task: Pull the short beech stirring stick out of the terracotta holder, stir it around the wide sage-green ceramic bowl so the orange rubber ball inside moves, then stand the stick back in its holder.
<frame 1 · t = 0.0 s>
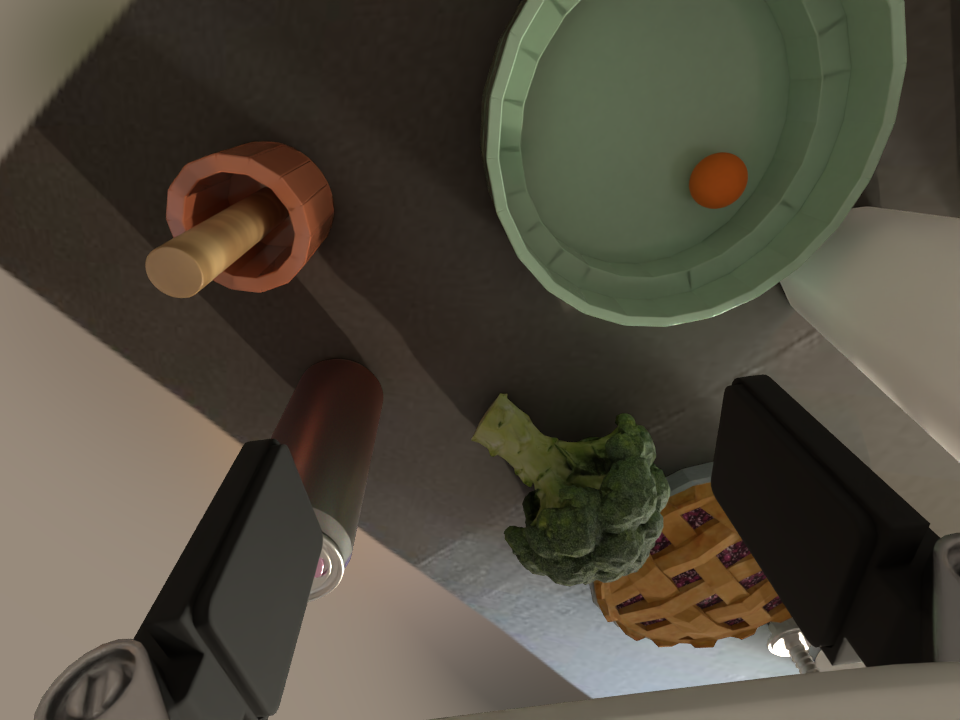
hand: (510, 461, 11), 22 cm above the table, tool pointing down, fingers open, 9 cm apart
vegetable: (549, 439, 39), on the table
cup: (829, 259, 33), on the table
screw: (779, 620, 53), on the table
ball: (717, 181, 28), point 2 cm above the table, touching bowl
beverage can: (343, 388, 36), on the table
pie: (697, 536, 46), on the table
bowl: (646, 130, 28), on the table
holder: (277, 201, 29), on the table
bottle: (862, 650, 57), on the table
stick: (274, 203, 28), resting on holder
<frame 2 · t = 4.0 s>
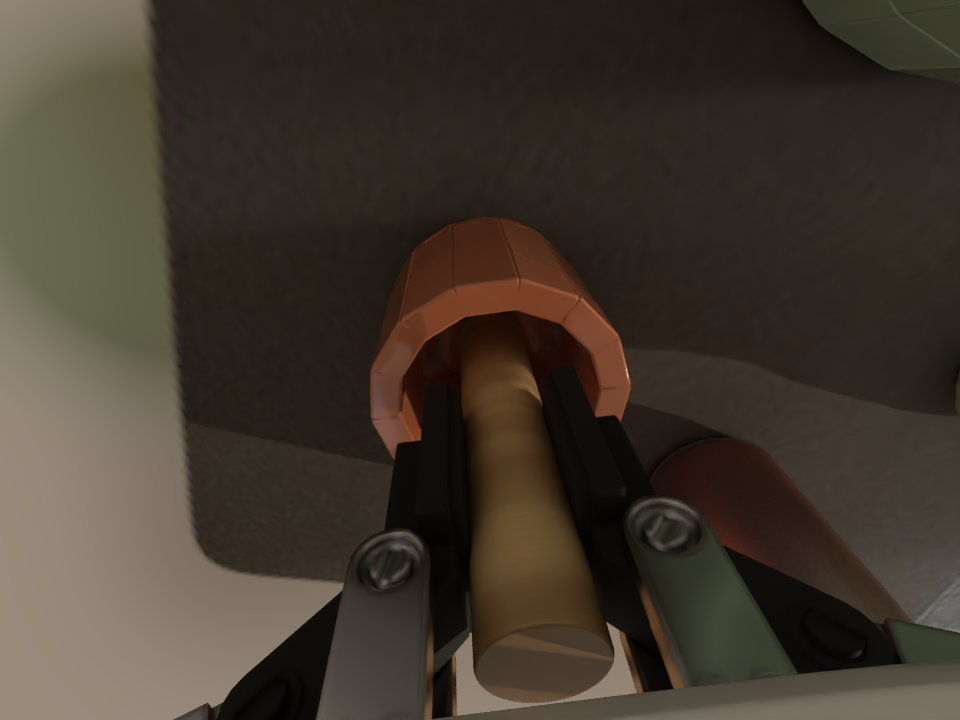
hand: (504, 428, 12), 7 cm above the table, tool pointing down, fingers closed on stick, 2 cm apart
beverage can: (701, 478, 23), on the table
holder: (485, 309, 18), on the table
stick: (486, 315, 17), point 1 cm above the table, touching gripper, holder
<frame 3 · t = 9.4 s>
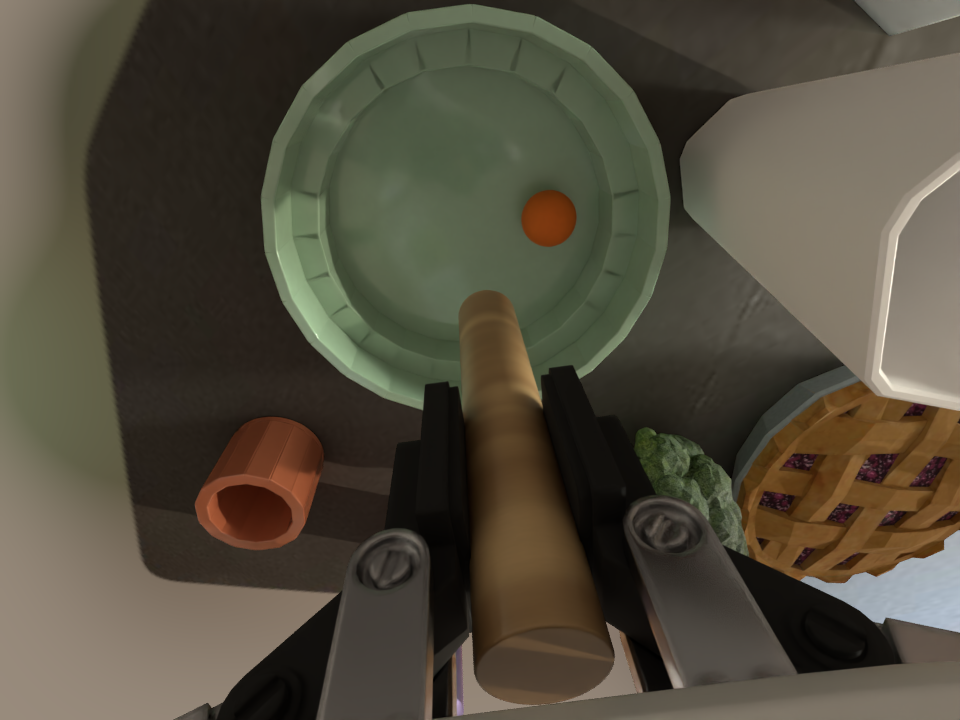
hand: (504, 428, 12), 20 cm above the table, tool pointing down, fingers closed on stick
vegetable: (611, 466, 39), on the table
cup: (737, 164, 28), on the table
ball: (548, 218, 27), point 2 cm above the table, touching bowl
beverage can: (422, 527, 41), on the table
pie: (840, 454, 40), on the table
bowl: (466, 220, 29), on the table
holder: (278, 452, 36), on the table
stick: (486, 316, 17), point 13 cm above the table, touching gripper
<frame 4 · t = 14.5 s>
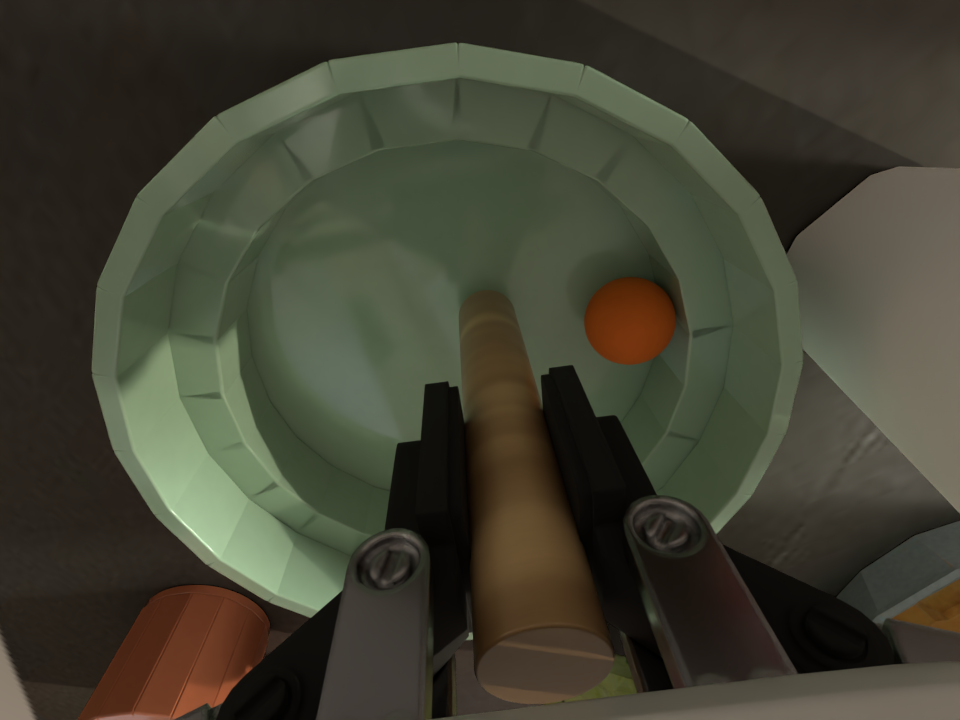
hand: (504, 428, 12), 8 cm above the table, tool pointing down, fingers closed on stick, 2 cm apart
vegetable: (654, 628, 30), on the table
cup: (868, 265, 19), on the table
ball: (628, 321, 17), point 2 cm above the table, tilted 74°, touching bowl
pie: (956, 609, 30), on the table
bowl: (458, 345, 19), on the table
holder: (208, 623, 27), on the table
stick: (486, 316, 17), point 1 cm above the table, touching gripper
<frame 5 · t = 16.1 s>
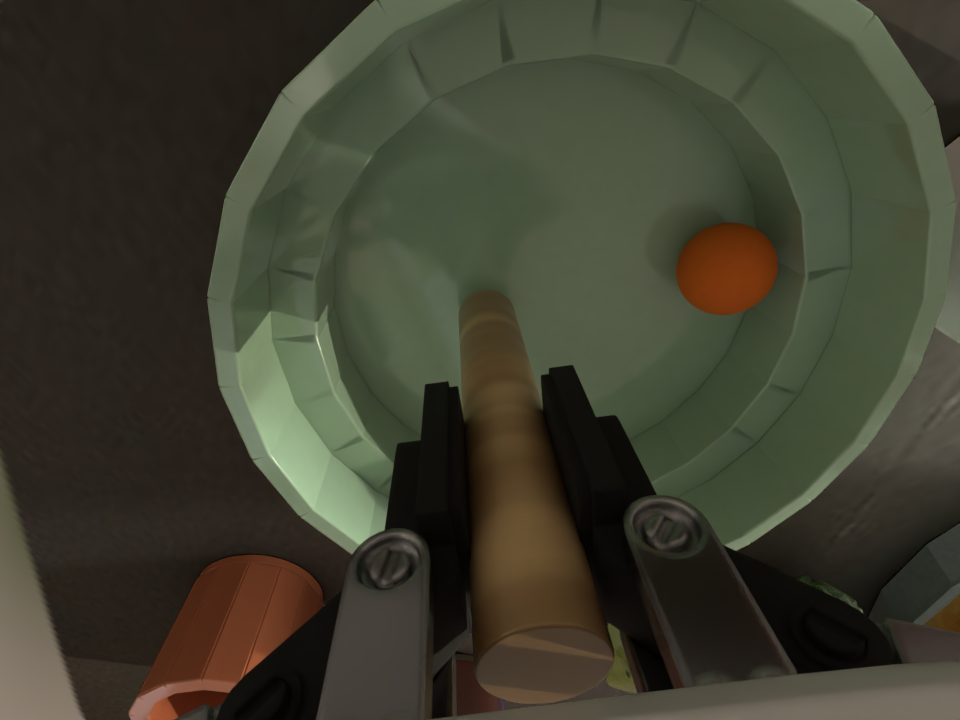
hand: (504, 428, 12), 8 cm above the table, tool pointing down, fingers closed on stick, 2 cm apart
vegetable: (711, 604, 29), on the table
ball: (724, 269, 16), point 2 cm above the table, tilted 62°, touching bowl
beverage can: (453, 673, 31), on the table
bowl: (544, 297, 19), on the table
holder: (260, 595, 26), on the table
stick: (486, 315, 17), point 1 cm above the table, touching gripper
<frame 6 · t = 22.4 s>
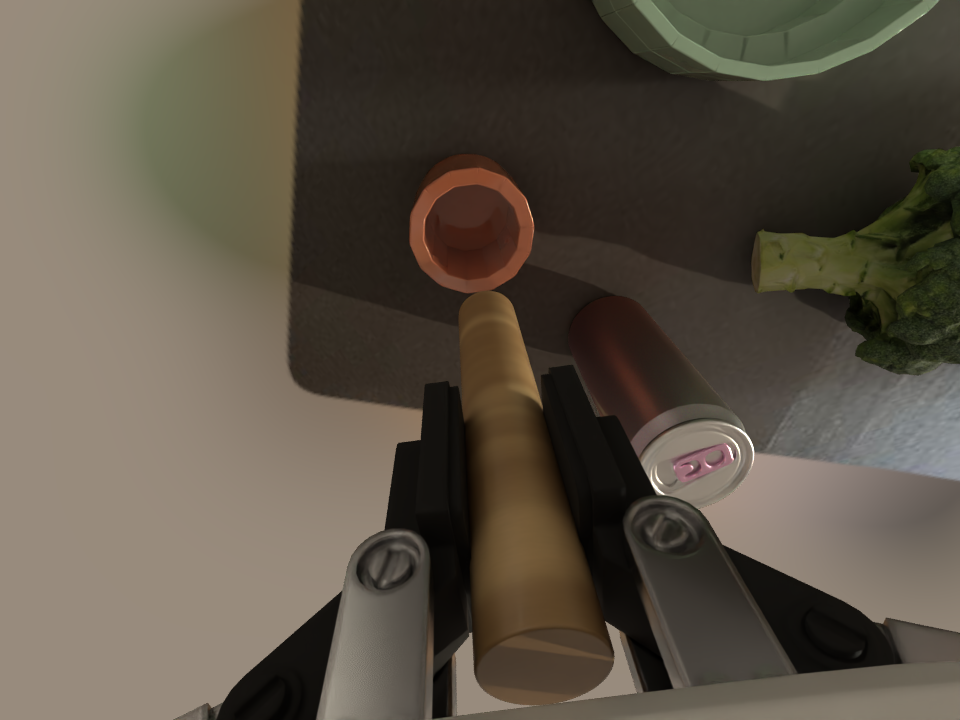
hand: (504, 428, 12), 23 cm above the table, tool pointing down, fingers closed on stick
vegetable: (833, 247, 34), on the table
beverage can: (605, 328, 36), on the table
holder: (467, 209, 31), on the table
stick: (486, 316, 17), point 16 cm above the table, touching gripper
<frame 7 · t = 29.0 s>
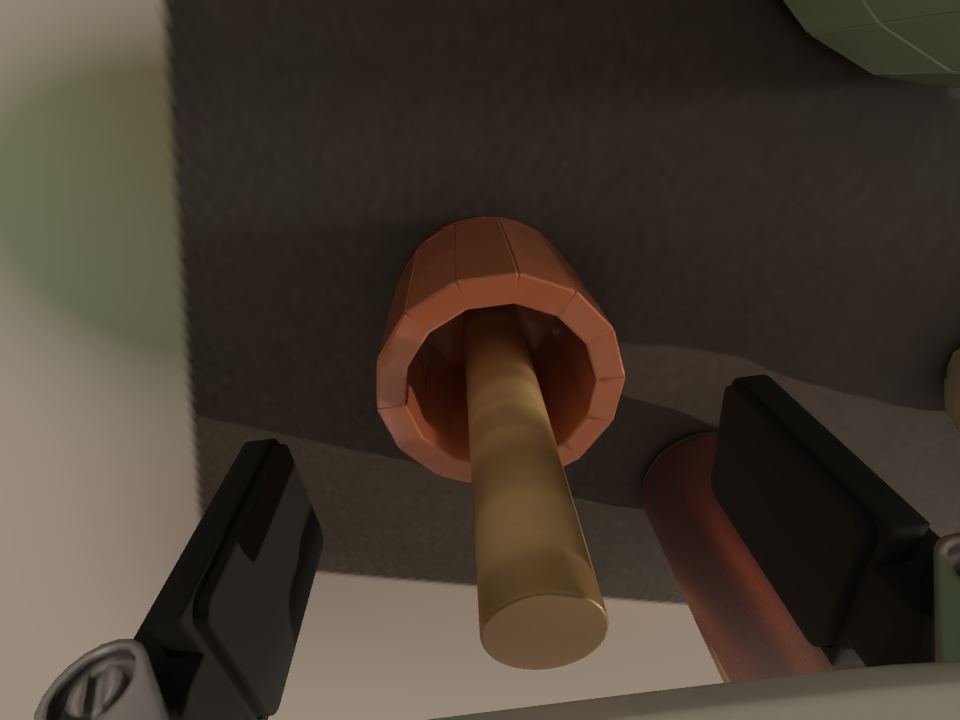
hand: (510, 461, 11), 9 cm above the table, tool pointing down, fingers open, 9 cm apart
beverage can: (697, 472, 23), on the table
holder: (486, 305, 18), on the table
stick: (489, 315, 18), resting on holder
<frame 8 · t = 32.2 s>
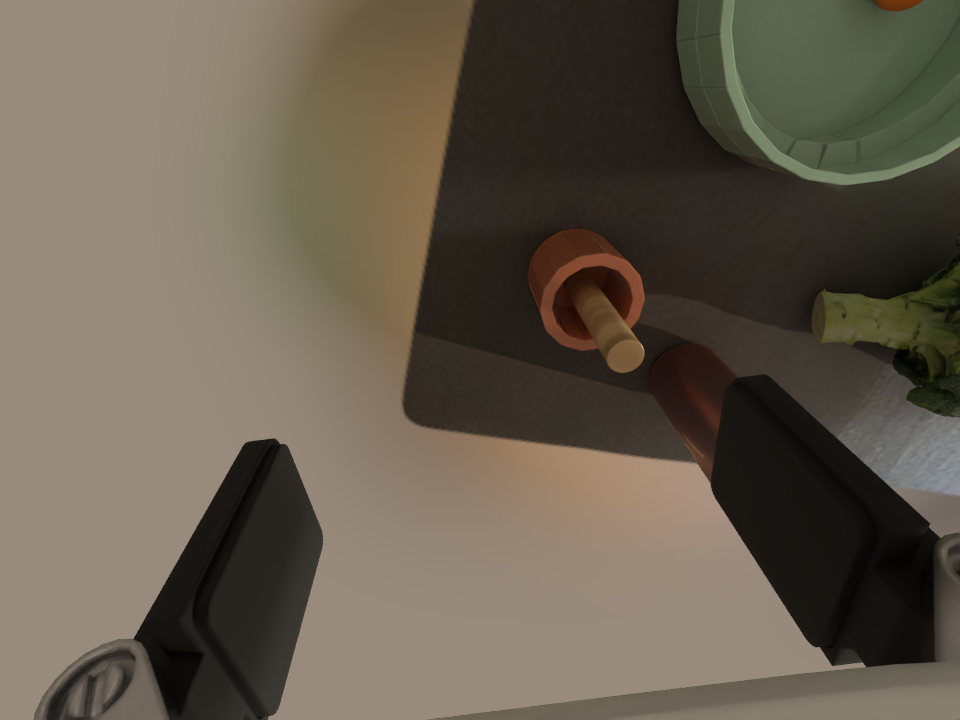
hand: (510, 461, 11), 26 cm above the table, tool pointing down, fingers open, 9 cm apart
vegetable: (882, 301, 39), on the table
beverage can: (680, 370, 41), on the table
holder: (571, 272, 36), on the table
stick: (574, 277, 36), resting on holder
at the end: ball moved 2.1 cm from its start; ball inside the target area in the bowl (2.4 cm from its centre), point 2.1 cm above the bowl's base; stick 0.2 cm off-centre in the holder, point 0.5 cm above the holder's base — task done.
